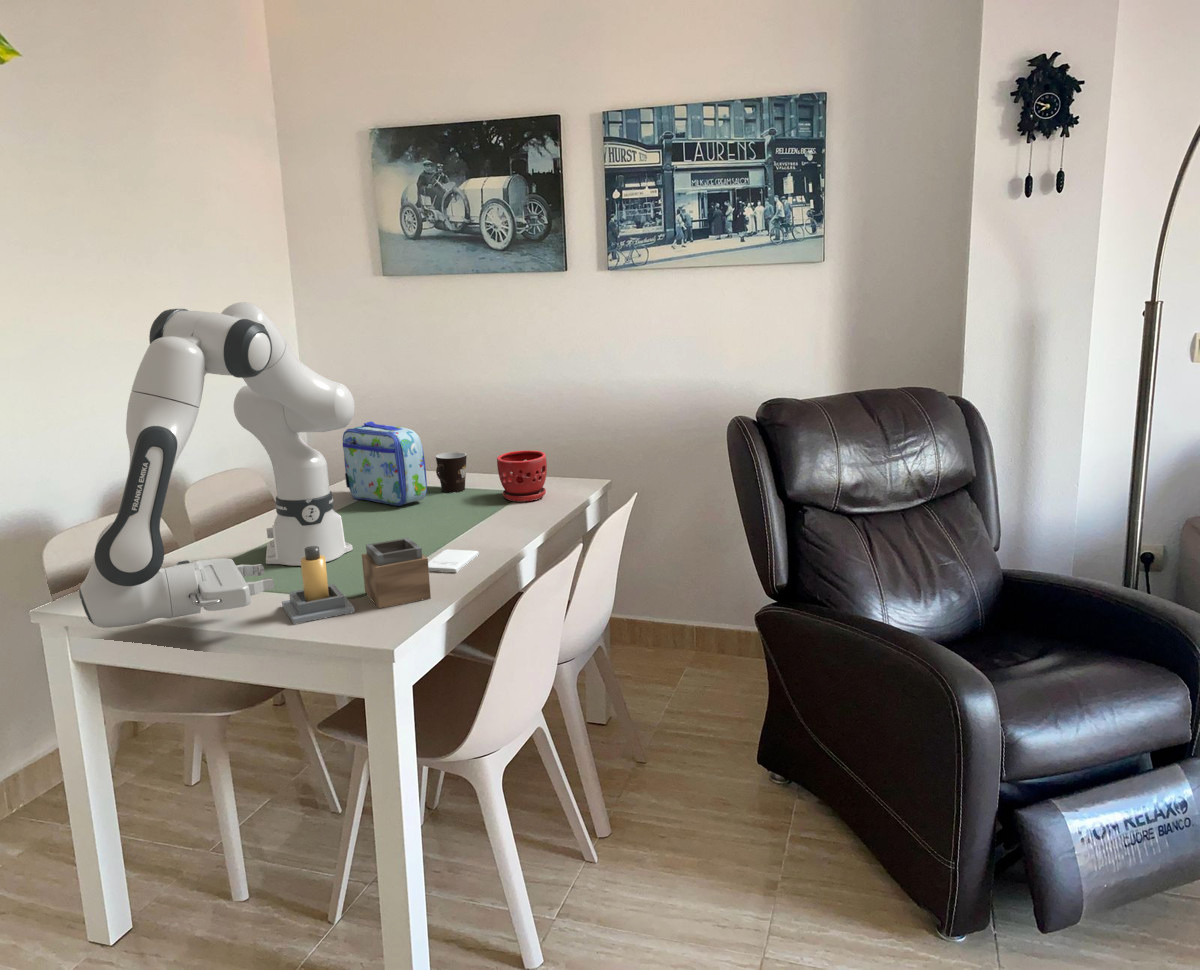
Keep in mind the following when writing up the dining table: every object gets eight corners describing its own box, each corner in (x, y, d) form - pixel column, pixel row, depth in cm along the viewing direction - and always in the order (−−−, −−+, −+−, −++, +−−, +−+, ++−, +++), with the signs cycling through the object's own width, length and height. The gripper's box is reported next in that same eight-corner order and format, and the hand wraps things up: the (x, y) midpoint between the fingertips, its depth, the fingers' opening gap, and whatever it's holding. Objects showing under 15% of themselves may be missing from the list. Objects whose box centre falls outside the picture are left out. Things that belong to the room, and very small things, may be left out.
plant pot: (502, 493, 267) (500, 450, 264) (550, 492, 266) (548, 449, 263) (496, 505, 254) (493, 460, 251) (545, 504, 253) (543, 459, 250)
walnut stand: (365, 593, 189) (360, 544, 187) (414, 583, 194) (410, 536, 191) (379, 608, 181) (374, 557, 178) (430, 598, 185) (426, 548, 183)
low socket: (282, 606, 183) (280, 591, 183) (340, 595, 188) (338, 580, 188) (294, 624, 174) (292, 608, 173) (354, 612, 179) (353, 597, 178)
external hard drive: (479, 557, 211) (456, 575, 200) (444, 556, 214) (420, 573, 202) (478, 550, 211) (456, 568, 199) (444, 549, 213) (419, 566, 202)
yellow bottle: (303, 603, 182) (297, 547, 179) (326, 598, 184) (321, 543, 181) (308, 610, 178) (302, 553, 176) (332, 605, 180) (326, 549, 178)
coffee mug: (457, 485, 278) (455, 450, 275) (474, 489, 271) (472, 454, 269) (422, 492, 270) (420, 457, 268) (440, 497, 264) (437, 461, 262)
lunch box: (341, 497, 267) (334, 423, 262) (373, 490, 275) (367, 417, 270) (399, 511, 250) (392, 432, 245) (432, 503, 258) (426, 425, 253)
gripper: (190, 589, 159) (277, 574, 166) (178, 558, 177) (256, 546, 183) (195, 625, 161) (281, 609, 167) (182, 591, 178) (260, 577, 185)
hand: (268, 575), depth 175 cm, fingers open, 8 cm apart
